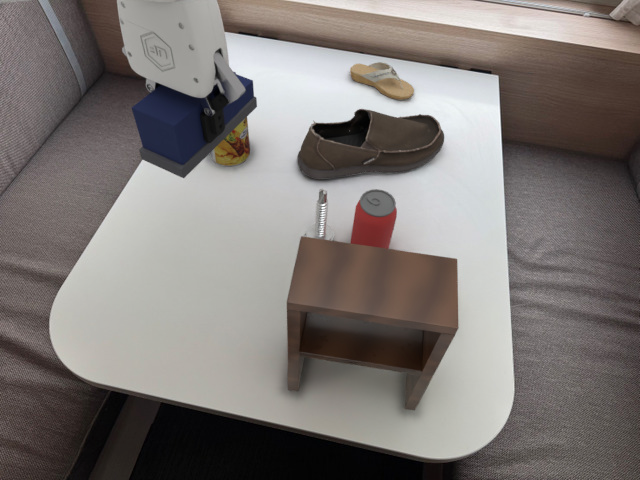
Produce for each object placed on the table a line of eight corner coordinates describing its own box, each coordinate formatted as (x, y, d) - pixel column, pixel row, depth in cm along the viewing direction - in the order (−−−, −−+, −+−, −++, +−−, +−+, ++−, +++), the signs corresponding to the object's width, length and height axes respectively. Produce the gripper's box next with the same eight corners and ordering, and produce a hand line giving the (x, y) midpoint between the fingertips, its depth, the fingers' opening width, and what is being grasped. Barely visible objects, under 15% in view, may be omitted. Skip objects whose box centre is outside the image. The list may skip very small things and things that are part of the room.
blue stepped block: (183, 178, 58) (172, 129, 52) (141, 159, 59) (126, 109, 54) (257, 106, 66) (254, 57, 61) (218, 91, 68) (212, 42, 62)
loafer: (451, 162, 103) (465, 120, 95) (310, 196, 96) (312, 153, 88) (426, 128, 110) (437, 85, 101) (291, 157, 102) (291, 114, 94)
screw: (337, 249, 89) (309, 254, 88) (329, 228, 92) (302, 233, 91) (343, 198, 79) (312, 203, 78) (334, 176, 82) (304, 180, 81)
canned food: (256, 159, 102) (252, 110, 92) (217, 171, 99) (209, 121, 90) (241, 134, 106) (236, 85, 96) (204, 145, 103) (195, 95, 94)
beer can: (362, 227, 92) (371, 180, 83) (394, 245, 90) (407, 199, 81) (342, 251, 89) (348, 204, 79) (374, 270, 87) (385, 225, 77)
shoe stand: (287, 390, 73) (286, 302, 54) (298, 333, 79) (301, 235, 60) (414, 410, 72) (458, 328, 53) (417, 351, 78) (457, 258, 59)
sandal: (408, 104, 114) (412, 85, 110) (343, 83, 118) (345, 64, 114) (418, 88, 118) (422, 68, 114) (355, 68, 122) (357, 49, 118)
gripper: (58, -44, 46) (112, 119, 61) (217, 11, 42) (235, 172, 56) (117, -72, 51) (155, 86, 65) (267, -25, 46) (272, 133, 60)
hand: (192, 125), depth 60 cm, fingers closed on blue stepped block, 5 cm apart
